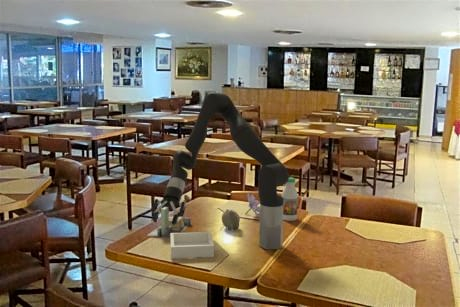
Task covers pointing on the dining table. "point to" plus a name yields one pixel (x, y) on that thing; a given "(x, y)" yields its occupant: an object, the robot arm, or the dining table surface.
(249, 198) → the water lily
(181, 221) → the offcut top
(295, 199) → the milk bottle
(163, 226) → the pale green block
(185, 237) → the tray
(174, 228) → the offcut bottom
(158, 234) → the rack
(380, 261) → the dining table surface
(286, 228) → the dining table surface
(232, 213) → the grey rounded lump
